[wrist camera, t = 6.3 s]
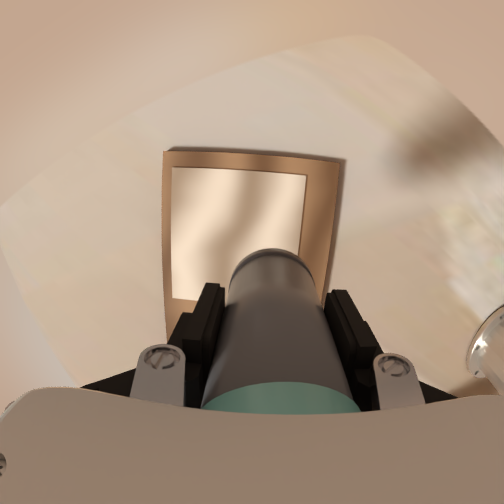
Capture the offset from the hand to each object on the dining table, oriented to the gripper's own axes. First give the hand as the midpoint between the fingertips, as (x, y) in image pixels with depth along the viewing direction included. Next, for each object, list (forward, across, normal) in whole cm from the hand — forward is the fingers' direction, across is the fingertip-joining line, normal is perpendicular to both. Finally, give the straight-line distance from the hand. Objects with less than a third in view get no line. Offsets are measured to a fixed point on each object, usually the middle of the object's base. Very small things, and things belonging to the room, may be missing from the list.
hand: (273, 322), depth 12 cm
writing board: (+17, +2, +6) cm, 19 cm away
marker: (+3, 0, 0) cm, 3 cm away
